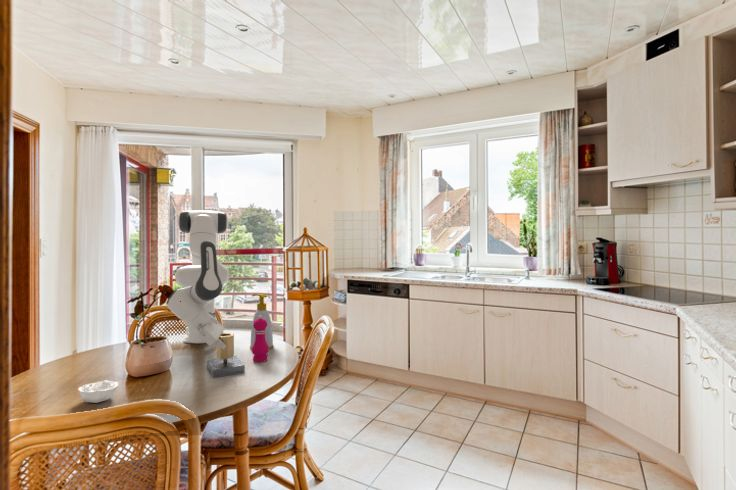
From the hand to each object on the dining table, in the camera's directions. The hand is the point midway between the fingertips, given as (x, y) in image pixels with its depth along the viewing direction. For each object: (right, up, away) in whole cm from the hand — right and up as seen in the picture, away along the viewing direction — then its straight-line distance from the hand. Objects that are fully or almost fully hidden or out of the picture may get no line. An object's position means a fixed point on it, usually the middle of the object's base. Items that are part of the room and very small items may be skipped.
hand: (226, 344), depth 165 cm
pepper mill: (+10, -10, +13) cm, 19 cm away
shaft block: (-1, -10, 0) cm, 10 cm away
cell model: (-33, -12, -30) cm, 46 cm away
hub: (-1, -5, 0) cm, 5 cm away
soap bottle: (+6, -9, +31) cm, 33 cm away
